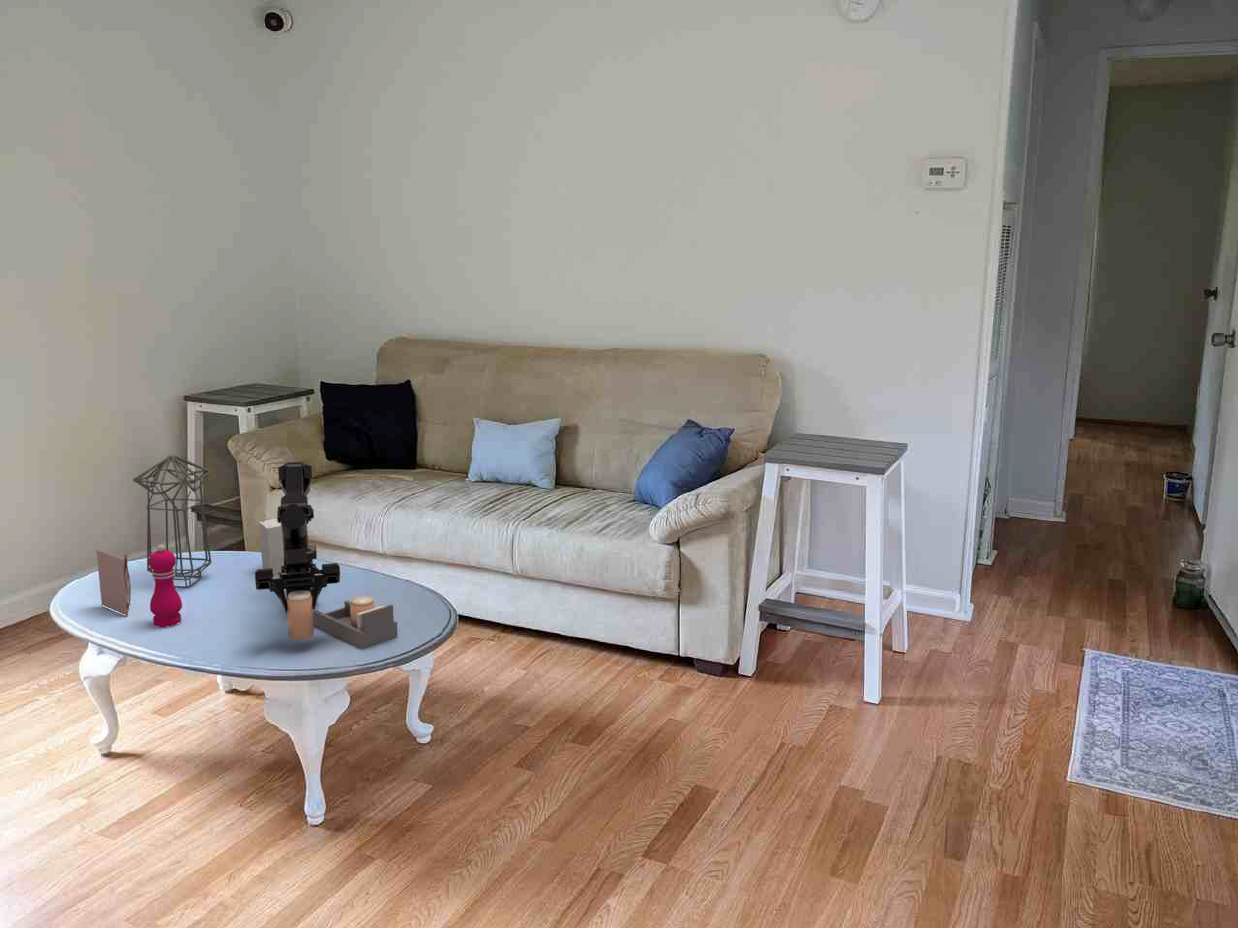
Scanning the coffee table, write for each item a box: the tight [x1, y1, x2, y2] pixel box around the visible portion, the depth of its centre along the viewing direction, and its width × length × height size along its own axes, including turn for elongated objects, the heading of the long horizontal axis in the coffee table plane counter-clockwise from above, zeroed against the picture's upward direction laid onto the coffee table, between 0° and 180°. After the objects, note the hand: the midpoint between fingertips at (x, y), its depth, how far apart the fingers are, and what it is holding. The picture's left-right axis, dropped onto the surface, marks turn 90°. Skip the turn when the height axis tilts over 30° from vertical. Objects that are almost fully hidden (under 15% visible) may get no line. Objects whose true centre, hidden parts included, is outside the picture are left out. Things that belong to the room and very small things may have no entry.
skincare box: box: [258, 518, 284, 573], centre depth 293 cm, size 8×6×15 cm
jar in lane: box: [350, 595, 376, 629], centre depth 252 cm, size 6×6×9 cm
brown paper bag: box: [95, 545, 132, 617], centre depth 265 cm, size 11×7×15 cm, turn 21°
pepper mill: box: [149, 544, 183, 628], centre depth 257 cm, size 7×7×20 cm
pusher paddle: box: [357, 605, 385, 631], centre depth 249 cm, size 2×7×7 cm, turn 139°
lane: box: [313, 599, 398, 650], centre depth 254 cm, size 20×10×9 cm, turn 49°
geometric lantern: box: [132, 454, 214, 589], centre depth 283 cm, size 16×16×35 cm
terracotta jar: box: [286, 590, 315, 641], centre depth 243 cm, size 6×6×10 cm
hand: (300, 610), depth 242 cm, fingers closed on terracotta jar, 6 cm apart
